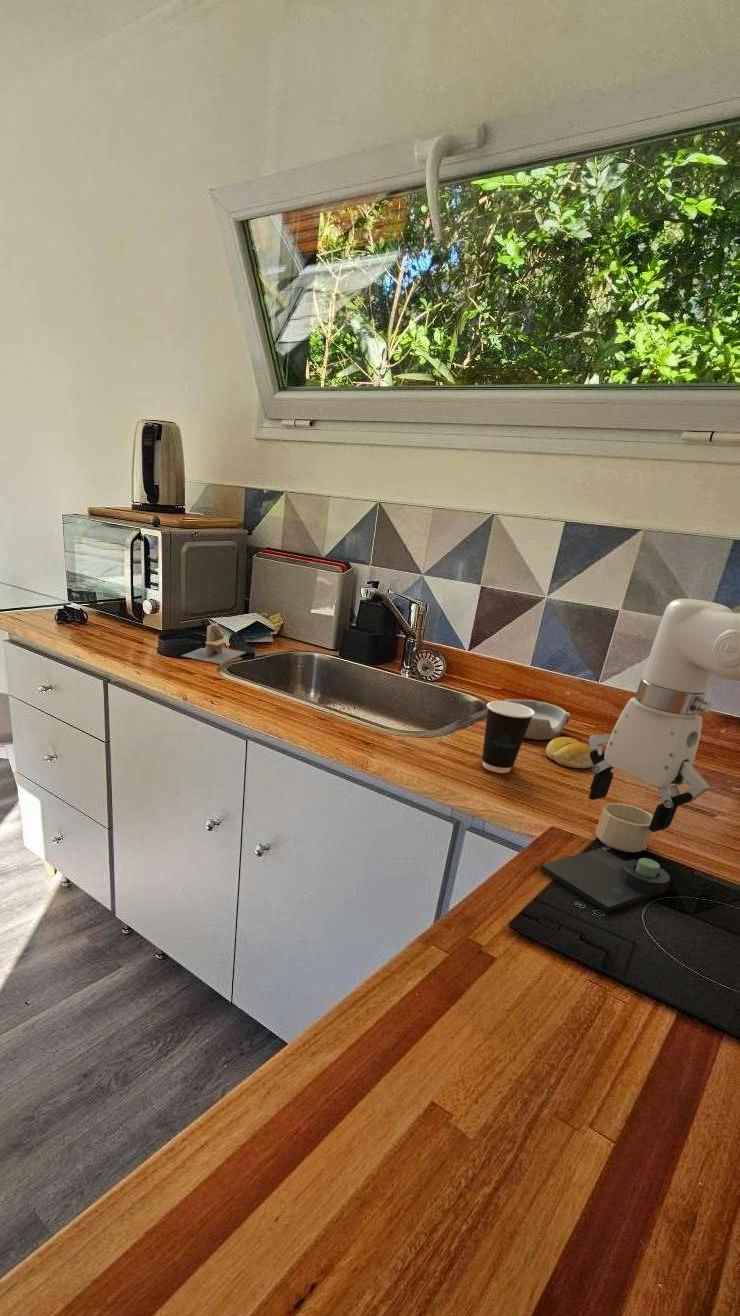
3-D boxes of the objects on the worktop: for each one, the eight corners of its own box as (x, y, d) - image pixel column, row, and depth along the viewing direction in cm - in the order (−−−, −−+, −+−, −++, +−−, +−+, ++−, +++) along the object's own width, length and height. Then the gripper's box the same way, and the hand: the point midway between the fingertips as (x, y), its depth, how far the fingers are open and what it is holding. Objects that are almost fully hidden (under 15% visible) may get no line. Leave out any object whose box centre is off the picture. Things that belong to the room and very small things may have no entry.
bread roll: (570, 750, 130) (575, 731, 128) (601, 768, 122) (608, 748, 120) (534, 751, 127) (539, 731, 126) (564, 770, 119) (570, 749, 118)
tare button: (642, 866, 85) (646, 856, 84) (660, 876, 83) (664, 865, 82) (631, 870, 84) (635, 859, 83) (648, 880, 82) (652, 869, 81)
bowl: (613, 827, 100) (623, 800, 98) (655, 849, 94) (666, 820, 93) (584, 835, 96) (593, 807, 94) (626, 858, 91) (636, 829, 89)
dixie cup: (489, 777, 113) (504, 716, 108) (465, 759, 120) (478, 700, 115) (528, 775, 115) (544, 715, 111) (502, 757, 122) (516, 700, 118)
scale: (599, 853, 92) (604, 837, 91) (672, 894, 84) (678, 877, 83) (539, 870, 86) (544, 854, 85) (611, 916, 78) (617, 898, 77)
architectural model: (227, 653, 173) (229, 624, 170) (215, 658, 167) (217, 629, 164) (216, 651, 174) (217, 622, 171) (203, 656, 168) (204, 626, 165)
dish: (567, 730, 141) (574, 708, 139) (555, 748, 130) (561, 724, 128) (500, 714, 147) (505, 692, 145) (482, 729, 136) (487, 706, 134)
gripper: (751, 718, 82) (699, 838, 89) (627, 676, 95) (591, 783, 102) (717, 724, 78) (666, 848, 86) (593, 679, 91) (559, 790, 99)
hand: (625, 813), depth 94 cm, fingers open, 9 cm apart
